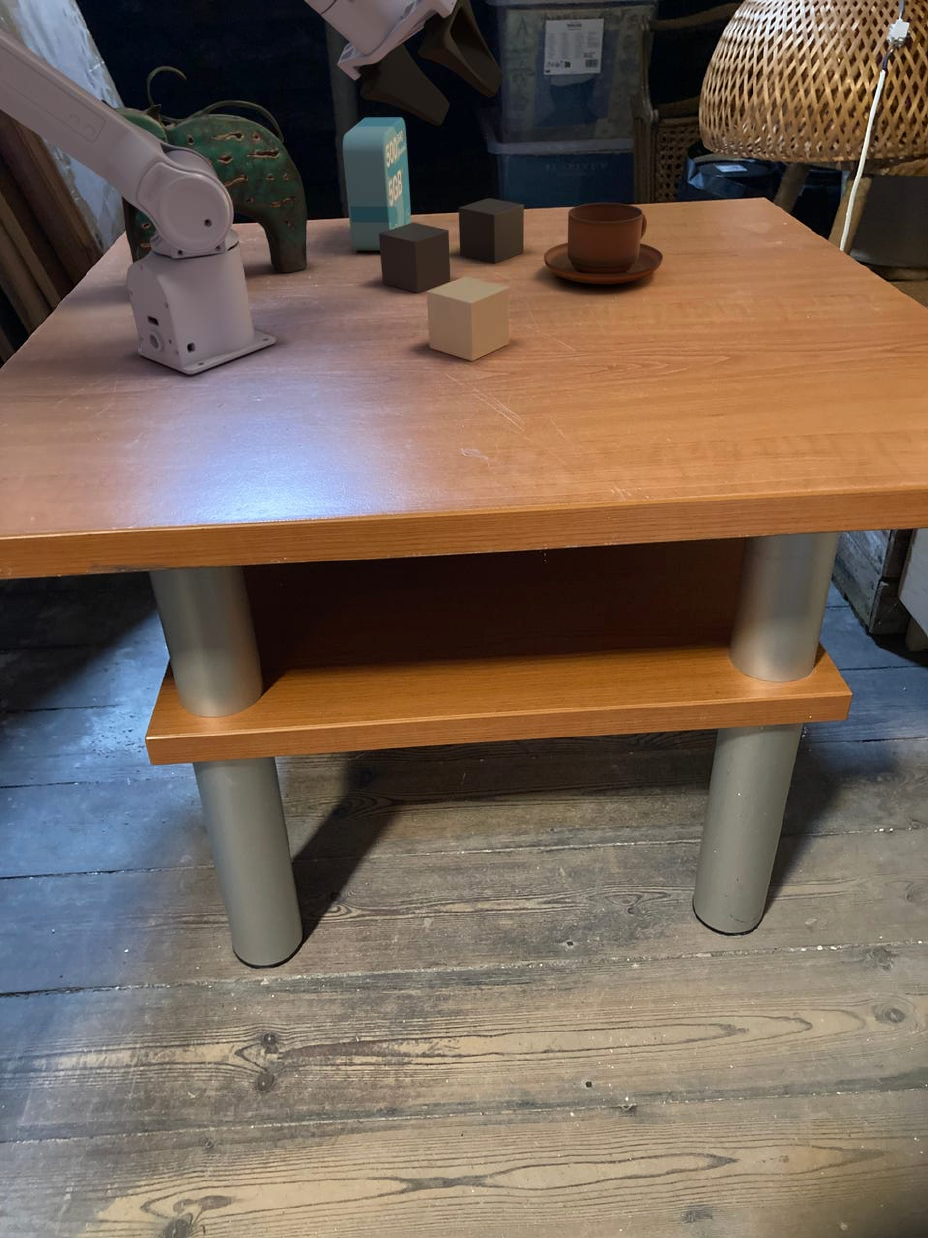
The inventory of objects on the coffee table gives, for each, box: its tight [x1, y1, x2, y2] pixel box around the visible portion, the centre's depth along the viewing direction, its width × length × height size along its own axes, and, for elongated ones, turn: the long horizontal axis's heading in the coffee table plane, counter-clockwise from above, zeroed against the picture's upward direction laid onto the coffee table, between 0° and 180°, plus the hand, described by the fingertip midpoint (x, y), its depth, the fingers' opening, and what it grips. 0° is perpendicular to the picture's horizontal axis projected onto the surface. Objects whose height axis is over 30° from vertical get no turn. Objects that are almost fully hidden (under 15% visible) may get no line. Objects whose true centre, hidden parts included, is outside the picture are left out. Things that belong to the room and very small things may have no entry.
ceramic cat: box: [100, 65, 308, 273], centre depth 95 cm, size 20×6×20 cm, turn 121°
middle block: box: [379, 222, 451, 294], centre depth 98 cm, size 5×5×5 cm
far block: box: [458, 197, 525, 264], centre depth 105 cm, size 5×5×5 cm
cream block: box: [426, 276, 510, 362], centre depth 83 cm, size 5×5×5 cm
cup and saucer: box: [543, 202, 664, 285], centre depth 97 cm, size 12×12×6 cm
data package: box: [342, 116, 412, 252], centre depth 108 cm, size 12×4×12 cm, turn 172°
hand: (469, 101), depth 81 cm, fingers open, 7 cm apart
